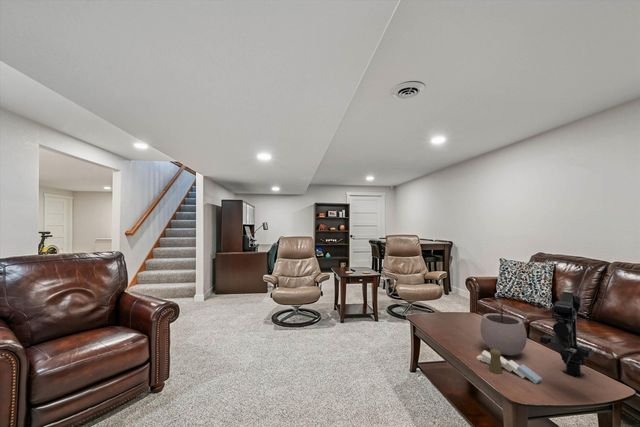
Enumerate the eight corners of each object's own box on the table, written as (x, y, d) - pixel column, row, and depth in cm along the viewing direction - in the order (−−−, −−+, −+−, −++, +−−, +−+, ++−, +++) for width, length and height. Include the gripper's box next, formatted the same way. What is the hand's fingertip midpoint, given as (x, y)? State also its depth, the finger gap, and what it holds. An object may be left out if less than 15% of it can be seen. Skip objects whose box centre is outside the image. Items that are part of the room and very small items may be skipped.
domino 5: (540, 381, 138) (521, 367, 145) (542, 378, 137) (523, 364, 145) (535, 383, 135) (516, 369, 143) (537, 380, 135) (518, 366, 142)
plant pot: (481, 341, 186) (479, 296, 187) (524, 349, 173) (523, 301, 175) (480, 355, 165) (479, 305, 166) (530, 366, 153) (528, 311, 154)
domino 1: (500, 363, 154) (483, 352, 161) (501, 360, 154) (484, 349, 160) (497, 366, 151) (480, 355, 157) (498, 364, 151) (481, 353, 157)
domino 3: (513, 368, 150) (496, 356, 156) (515, 366, 149) (497, 353, 156) (510, 372, 146) (492, 359, 153) (512, 369, 146) (494, 356, 152)
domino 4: (528, 376, 143) (510, 362, 150) (529, 372, 142) (511, 359, 150) (523, 378, 140) (505, 365, 148) (524, 375, 140) (506, 362, 147)
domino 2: (497, 364, 156) (481, 357, 164) (497, 360, 156) (481, 354, 164) (493, 366, 154) (476, 360, 161) (492, 362, 154) (476, 356, 161)
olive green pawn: (497, 368, 151) (496, 347, 151) (505, 373, 145) (504, 352, 145) (486, 368, 151) (486, 347, 151) (494, 374, 145) (493, 352, 145)
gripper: (533, 326, 136) (534, 359, 135) (581, 340, 119) (583, 377, 118) (544, 323, 141) (546, 354, 140) (593, 336, 124) (595, 371, 123)
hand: (565, 363), depth 130 cm, fingers closed
